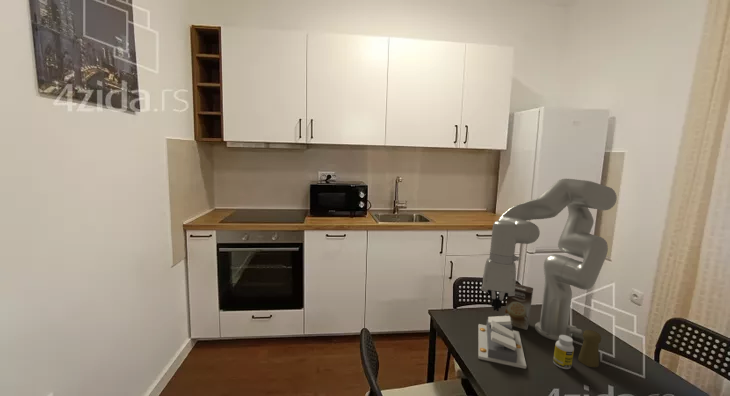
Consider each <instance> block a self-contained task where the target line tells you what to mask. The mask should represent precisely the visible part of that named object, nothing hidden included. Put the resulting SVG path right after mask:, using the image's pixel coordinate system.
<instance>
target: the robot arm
mask: <svg viewBox="0 0 730 396" xmlns="http://www.w3.org/2000/svg"><path fill="white" fill-rule="evenodd" d="M617 198H618V197H617V193H616V191H615V190H614V189H613V188H612V187H609V186H607V185H604V184H601V183H597V182H595V181H591V180H585V179H577V178H576V179H575V178H574V179H573V178H562V179H561V178H560V179H559V180H557V181H555V182H554V183H553V184H552V185H551V186H550V187H548V188H547V189H546V190H545V191H544V192H543V193H542V194H540V196H538V197H537V198H535V199H531V200H527V201H525V202H522V203H519V204H516V205H514V206H512V207H510V208H509V209H508V210H507V211H505V212H504V213H503V214H502V215H500V217H499V218H498V220H496V221H494V222H493V224H492V230H491V241H490V250H489V258H486V260H485V261H486V262H485V264H484V269H483V275H482V285H481V288H480V290H481V291H483V292H485V293H487V294H488V295H489V296H490V297H491V306H490V307H492V308H493V312H495V311H496V312H499V311H500V309H502V303H503V300H504V299H507V296H515V284H517V283H516V281H517V267H516V262H519V259H520V257H519V256H517V255H516V254H515V253H516V244H523V245H529V244H533V243H535V242H536V241H537V240H538V239H539V237H540V233H541V232H540V228H539V227H538V225H537V224H536V223H534V222H531V220H546V219H547V220H548V219H552V218H555V217H557V216H558V215H559V214H560V213H561V212H562V211H564V209H566V207H567V211H568V212H567V213H568V217H567V220H566V222H565V224H564V227H563V229H562V232H561V233H560V236H559V239H558V243H557V247H558V249H559V250H560V251H561V252H563V253H565V254H567V255H571V256H574V257H575V258H576V257H577V258H580V259H582V260H583V261H579V260H578V259H574V258H571V257H568V256H565V255H561V254H550V255H548V256H547V257H546V258H545V260H544V262H543V273H544V274H543V275H544V276H543V277H544V283H543V284H544V285H543V294H542V301H541V302H542V303H541V309H540V319H539V321H537V322H536V323H535V324H534V329H535V331H536V332H537V333H538V334H539V335H541V336H542V337H544V338H546V339H549V340H552V341H555V342H557V341H559V336H560V335H566V336H569V337H571V338H572V334H575V335H583V330H582V329H580V328H577V325H570V324H569V320H570V313H571V304H572V298H573V291H572V287H574V288H578V289H579V290H583V291H585V290H586V291H587V290H590V289H592V288H593V286H595V284H596V281H597V279H598V277H599V275H600V273H601V270H602V267H603V265H604V263H605V260H606V258H607V254H608V249H609V248H608V247H609V246H608V242H607V241H606V239H605V238H603V237H602V236H599V235H596V234H593V233H591V231H592V228H593V226H594V224H595V223H594V217H593V215H592V213H591V211H590V209H594V210H598V211H609V210H611V209H612V208H613V207H615V205H616V203H617ZM571 286H572V287H571ZM496 292H499V293H498V295H496Z"/></svg>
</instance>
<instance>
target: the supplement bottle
mask: <svg viewBox="0 0 730 396" xmlns="http://www.w3.org/2000/svg"><path fill="white" fill-rule="evenodd" d="M573 342H574V339H573V338H572V336H571V337H569V336H566V335H560V336H559V341H555V346H554V352H553V359H552V362H553V364H554V365H555V366H557V367H559V368H560V369H564V370H569V369H571V368H572V365H573V359H574V352H575V347H574V345H573Z"/></svg>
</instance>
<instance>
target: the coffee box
mask: <svg viewBox="0 0 730 396" xmlns="http://www.w3.org/2000/svg"><path fill="white" fill-rule="evenodd" d="M533 293H534V287H531V286H526V285H522V284H519V283H516V284H515V296H507V297H506V300H505V301H506V303H505V312H504V316H510V319H511V324H512V327H515V328H518V329H522V330H526V331H528V328H529V324H530V317H531V309H532V301H533Z"/></svg>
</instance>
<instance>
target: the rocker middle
mask: <svg viewBox="0 0 730 396" xmlns="http://www.w3.org/2000/svg"><path fill="white" fill-rule="evenodd" d="M491 329H492V330H494V331H496V332H498V333H500V334H501V335H503V336H505V337H507V338H510V339H512V340H513V339H514V334H513V331H511V330H509V329H507V328H505V327H504V326H502V325H500V324H498V323H496V322H495V321H493V320H492V322H491Z"/></svg>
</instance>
